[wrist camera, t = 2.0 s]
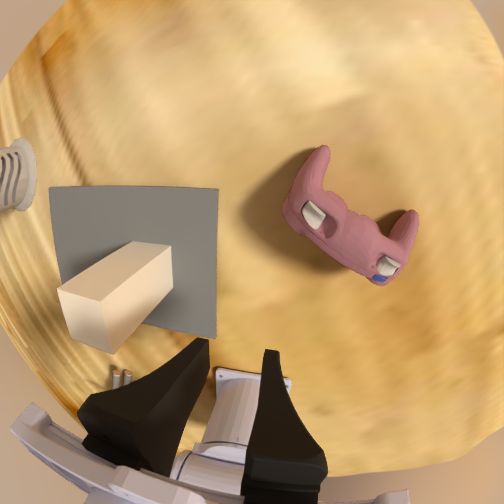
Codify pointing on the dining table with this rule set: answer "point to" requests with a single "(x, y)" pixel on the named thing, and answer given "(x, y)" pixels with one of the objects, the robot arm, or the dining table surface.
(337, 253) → the video game controller
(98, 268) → the cream block
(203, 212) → the slate mat
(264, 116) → the dining table surface
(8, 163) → the french press
